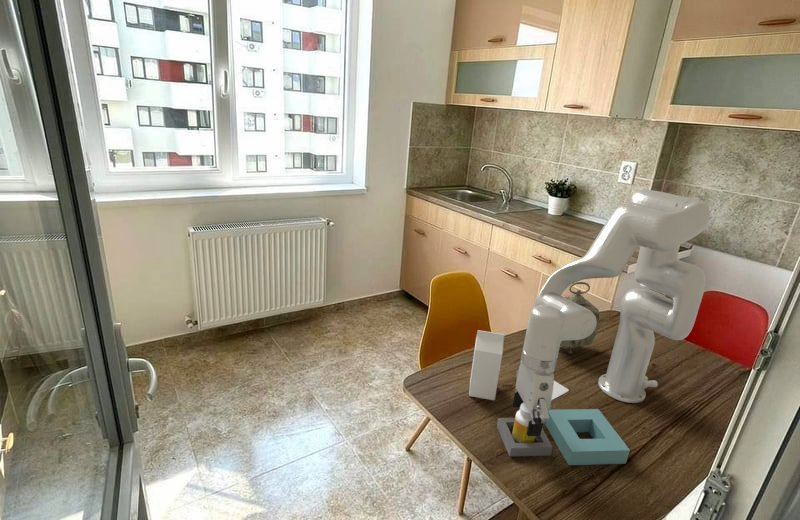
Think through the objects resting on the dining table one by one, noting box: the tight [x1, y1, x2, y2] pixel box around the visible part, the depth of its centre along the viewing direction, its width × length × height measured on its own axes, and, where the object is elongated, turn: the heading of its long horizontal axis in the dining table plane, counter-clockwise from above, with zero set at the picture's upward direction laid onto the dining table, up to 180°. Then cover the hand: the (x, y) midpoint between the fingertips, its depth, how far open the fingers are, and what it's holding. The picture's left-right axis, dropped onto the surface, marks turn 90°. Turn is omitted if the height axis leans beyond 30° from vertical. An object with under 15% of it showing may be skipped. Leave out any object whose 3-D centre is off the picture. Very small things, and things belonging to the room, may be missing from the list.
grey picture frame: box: [496, 417, 553, 457], centre depth 106 cm, size 10×10×2 cm
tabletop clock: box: [560, 281, 600, 355], centre depth 142 cm, size 14×9×25 cm, turn 98°
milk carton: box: [468, 329, 505, 401], centre depth 120 cm, size 7×7×19 cm
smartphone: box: [536, 379, 570, 409], centre depth 125 cm, size 7×1×15 cm
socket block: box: [544, 408, 631, 466], centre depth 106 cm, size 14×14×4 cm
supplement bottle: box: [511, 403, 539, 443], centre depth 105 cm, size 5×5×10 cm
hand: (525, 420), depth 104 cm, fingers open, 9 cm apart
